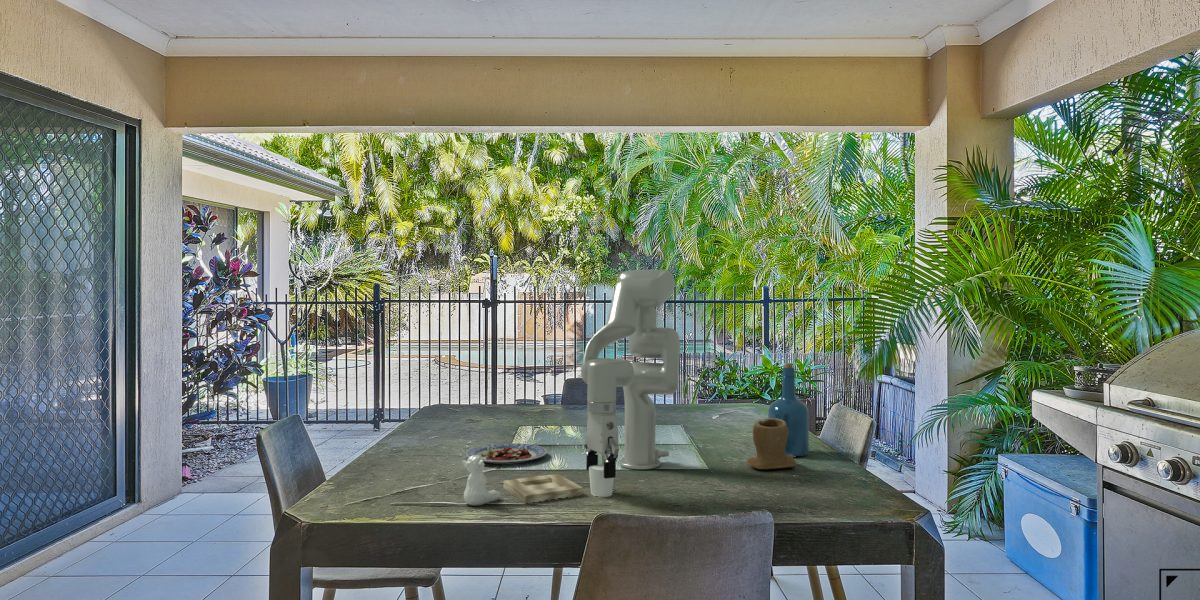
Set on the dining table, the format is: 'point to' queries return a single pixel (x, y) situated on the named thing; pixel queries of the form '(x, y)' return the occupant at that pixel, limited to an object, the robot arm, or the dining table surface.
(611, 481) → the white cup
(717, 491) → the dining table surface
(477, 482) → the sitting furry creature
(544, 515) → the dining table surface
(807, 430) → the wine bottle
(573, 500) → the dining table surface
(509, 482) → the coaster board
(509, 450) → the ceramic plate
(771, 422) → the stone cup
